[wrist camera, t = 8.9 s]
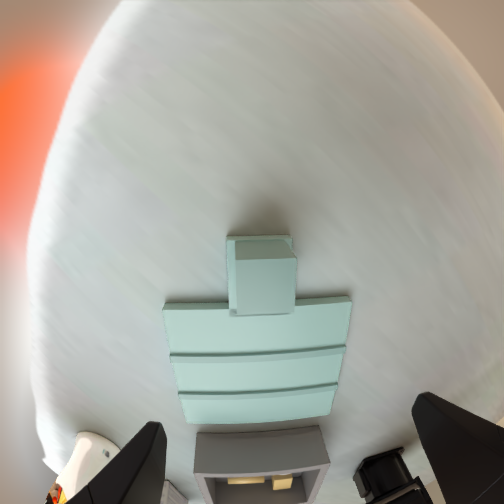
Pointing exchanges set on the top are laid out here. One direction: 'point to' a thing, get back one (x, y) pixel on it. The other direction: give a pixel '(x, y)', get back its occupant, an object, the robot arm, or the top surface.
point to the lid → (257, 342)
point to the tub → (261, 466)
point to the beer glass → (82, 466)
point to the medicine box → (171, 495)
